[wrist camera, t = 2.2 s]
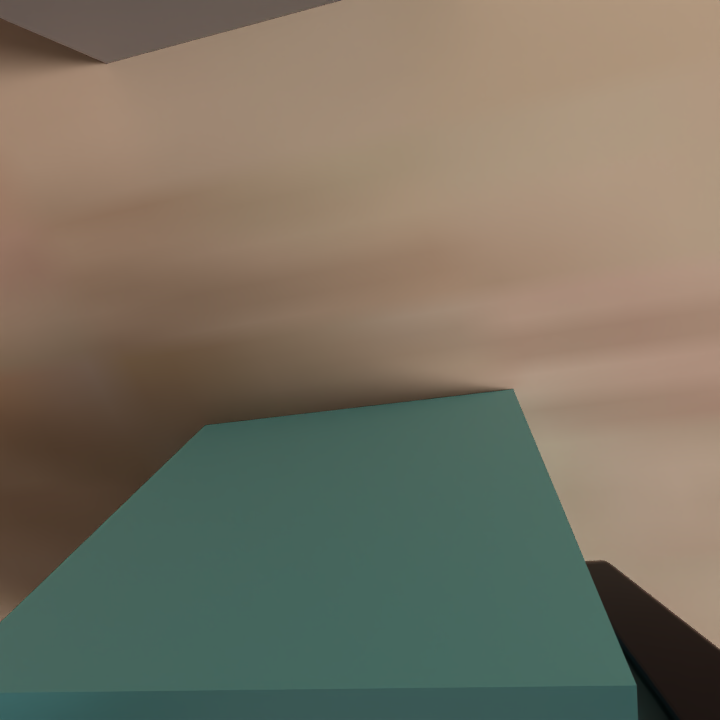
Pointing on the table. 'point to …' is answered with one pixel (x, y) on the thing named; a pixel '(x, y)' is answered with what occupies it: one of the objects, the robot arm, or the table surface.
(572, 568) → the teal cube
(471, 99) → the table surface
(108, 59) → the gray cube
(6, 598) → the table surface
